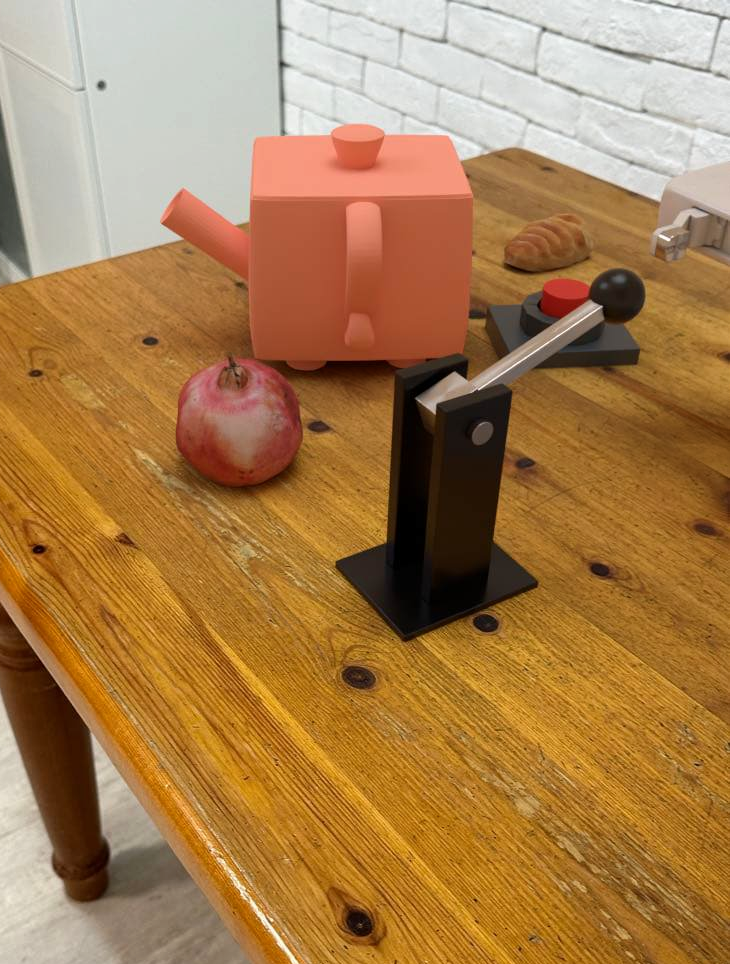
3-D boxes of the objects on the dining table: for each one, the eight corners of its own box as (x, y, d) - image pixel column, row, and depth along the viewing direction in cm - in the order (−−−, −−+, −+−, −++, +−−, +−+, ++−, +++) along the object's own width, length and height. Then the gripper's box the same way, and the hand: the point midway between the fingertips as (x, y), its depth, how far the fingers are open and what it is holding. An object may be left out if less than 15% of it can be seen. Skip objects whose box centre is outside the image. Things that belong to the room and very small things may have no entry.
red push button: (580, 299, 90) (584, 277, 89) (593, 320, 87) (597, 298, 86) (535, 301, 90) (538, 279, 89) (546, 322, 87) (550, 299, 86)
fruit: (228, 421, 82) (221, 302, 75) (328, 460, 77) (329, 338, 71) (148, 476, 76) (133, 352, 69) (252, 522, 71) (245, 394, 65)
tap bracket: (461, 527, 71) (482, 329, 62) (536, 595, 66) (572, 389, 56) (334, 575, 67) (337, 371, 58) (403, 651, 62) (418, 439, 52)
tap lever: (621, 293, 63) (616, 249, 60) (659, 314, 60) (656, 269, 58) (420, 429, 60) (407, 388, 58) (453, 456, 58) (441, 414, 56)
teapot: (160, 405, 83) (135, 182, 72) (181, 283, 101) (164, 89, 90) (472, 400, 84) (495, 178, 73) (438, 280, 102) (453, 87, 91)
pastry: (537, 283, 101) (542, 245, 99) (485, 262, 105) (488, 225, 103) (596, 257, 106) (603, 220, 104) (544, 238, 110) (549, 202, 108)
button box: (604, 323, 95) (611, 281, 92) (635, 372, 88) (645, 329, 85) (484, 327, 94) (489, 286, 92) (507, 377, 87) (512, 334, 85)
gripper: (996, 336, 63) (844, 395, 58) (735, 225, 77) (593, 264, 72) (1040, 235, 59) (882, 289, 54) (757, 137, 73) (608, 171, 68)
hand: (715, 273), depth 63 cm, fingers open, 8 cm apart
